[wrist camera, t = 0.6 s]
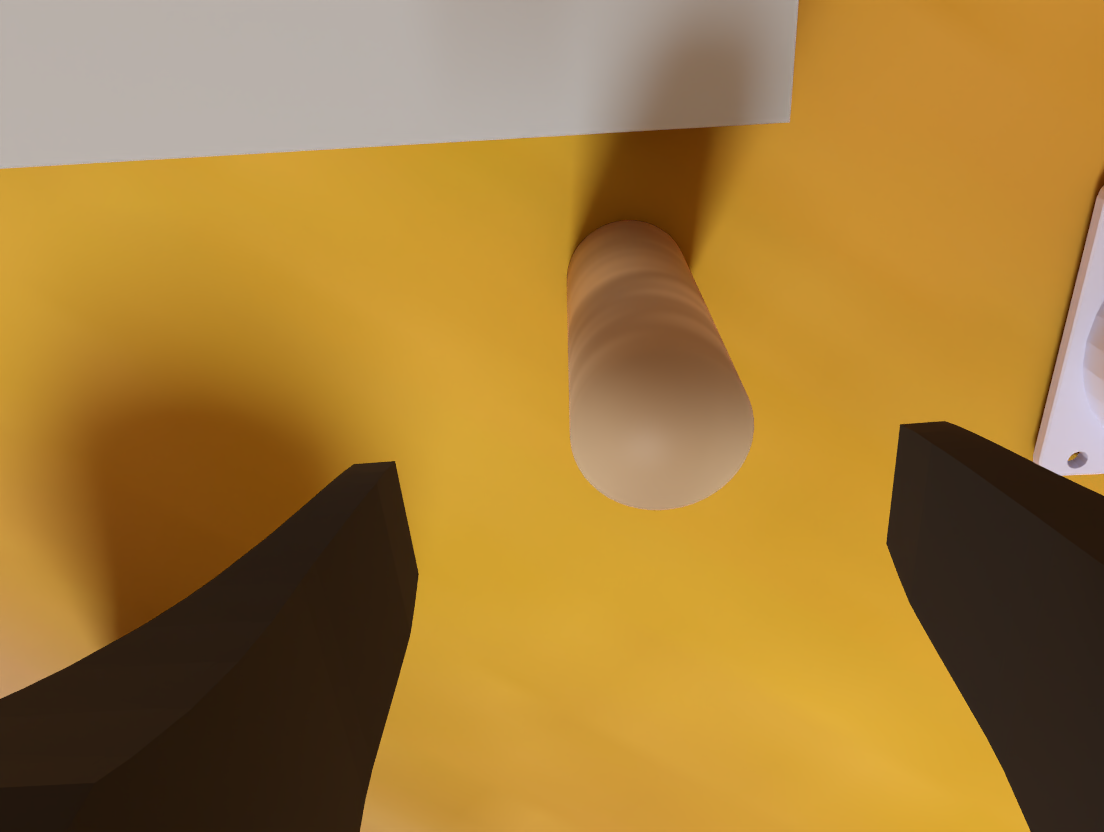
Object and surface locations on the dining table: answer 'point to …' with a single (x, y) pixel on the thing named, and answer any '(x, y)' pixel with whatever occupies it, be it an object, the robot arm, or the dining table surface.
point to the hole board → (375, 73)
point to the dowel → (649, 374)
